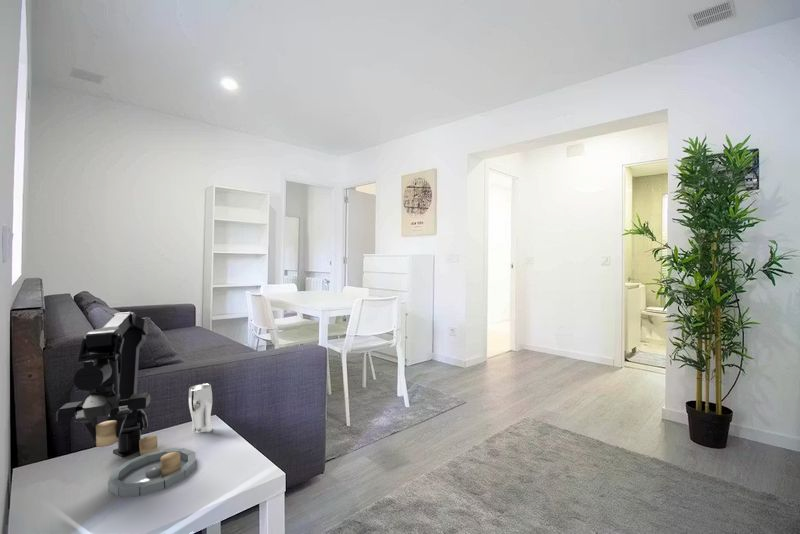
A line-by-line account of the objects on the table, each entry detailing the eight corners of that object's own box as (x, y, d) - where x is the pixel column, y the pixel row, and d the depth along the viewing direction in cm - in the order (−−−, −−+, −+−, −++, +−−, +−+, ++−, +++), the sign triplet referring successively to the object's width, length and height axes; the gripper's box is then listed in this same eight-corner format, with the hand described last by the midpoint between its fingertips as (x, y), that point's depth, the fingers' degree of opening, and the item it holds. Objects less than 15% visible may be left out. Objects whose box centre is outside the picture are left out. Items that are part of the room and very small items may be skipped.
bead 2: (137, 457, 112) (136, 440, 112) (152, 450, 115) (152, 434, 115) (144, 461, 109) (144, 443, 109) (160, 454, 113) (160, 437, 113)
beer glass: (191, 429, 129) (189, 385, 129) (214, 425, 132) (212, 382, 132) (188, 438, 123) (187, 391, 123) (212, 433, 126) (211, 388, 126)
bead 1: (99, 441, 100) (98, 422, 100) (119, 437, 102) (119, 419, 102) (93, 448, 96) (92, 428, 96) (114, 444, 98) (114, 425, 98)
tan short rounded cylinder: (157, 477, 99) (157, 458, 99) (175, 468, 103) (174, 450, 103) (167, 481, 97) (166, 462, 97) (184, 473, 101) (183, 454, 100)
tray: (95, 486, 97) (94, 475, 97) (171, 452, 114) (171, 442, 114) (133, 509, 88) (133, 496, 88) (210, 468, 104) (210, 458, 104)
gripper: (43, 394, 88) (46, 461, 88) (139, 382, 95) (142, 444, 95) (64, 381, 98) (67, 441, 98) (149, 371, 105) (151, 427, 106)
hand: (107, 438), depth 99 cm, fingers closed on bead 1, 4 cm apart
